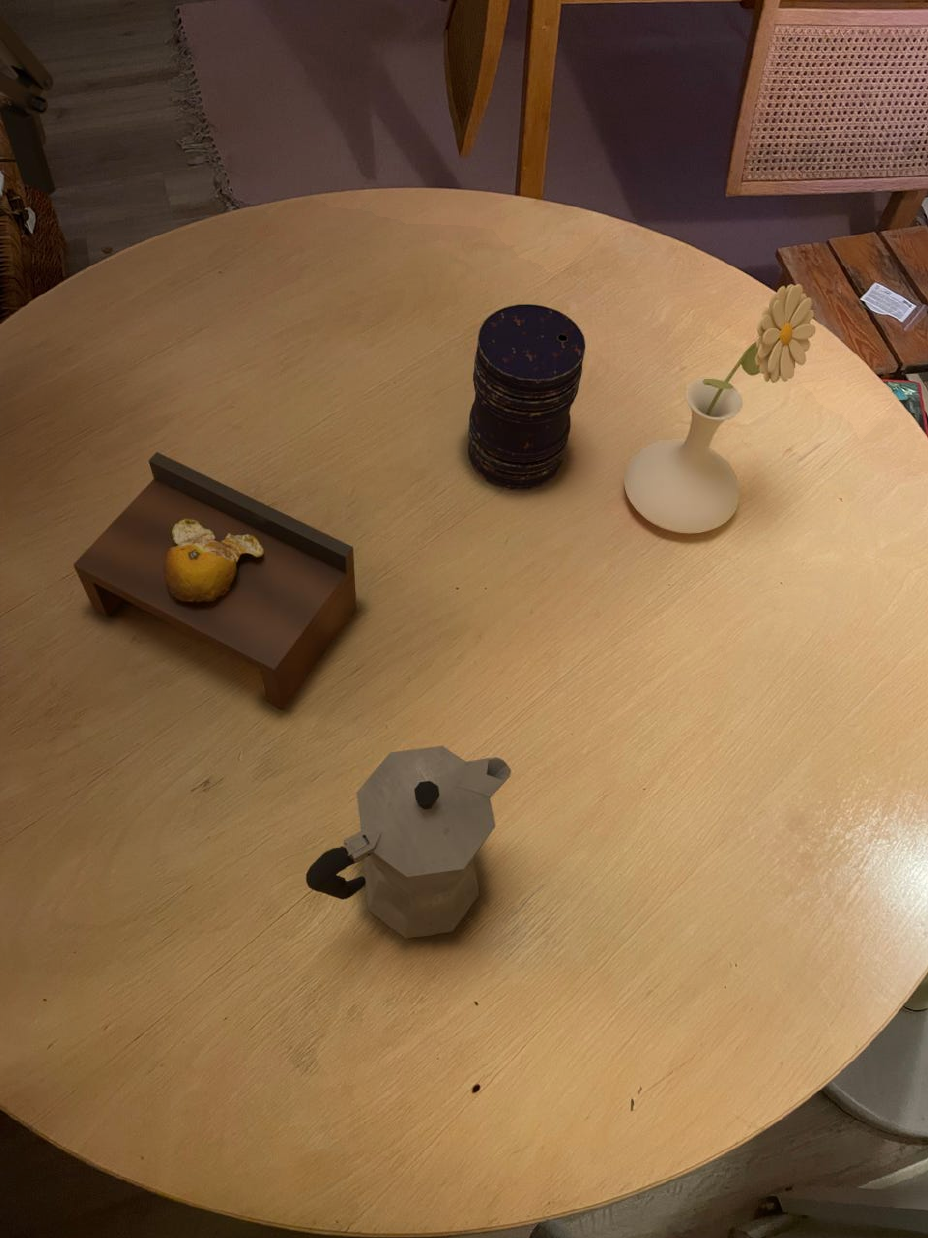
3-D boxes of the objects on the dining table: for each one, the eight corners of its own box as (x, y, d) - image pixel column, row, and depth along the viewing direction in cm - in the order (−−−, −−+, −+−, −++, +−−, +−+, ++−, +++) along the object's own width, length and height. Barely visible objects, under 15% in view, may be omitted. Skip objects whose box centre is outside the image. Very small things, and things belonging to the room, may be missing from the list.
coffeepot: (460, 792, 85) (475, 688, 70) (524, 889, 81) (554, 801, 66) (291, 887, 80) (267, 797, 65) (350, 996, 76) (339, 927, 61)
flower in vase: (656, 557, 99) (728, 363, 78) (600, 471, 104) (653, 268, 83) (770, 517, 102) (869, 321, 81) (710, 436, 108) (788, 232, 86)
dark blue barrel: (477, 496, 102) (489, 387, 89) (457, 422, 107) (465, 308, 94) (575, 484, 103) (600, 374, 90) (550, 411, 108) (571, 298, 96)
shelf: (282, 710, 88) (271, 654, 80) (93, 609, 92) (65, 547, 84) (356, 608, 94) (353, 546, 86) (175, 517, 98) (156, 451, 90)
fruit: (271, 540, 89) (266, 514, 86) (236, 619, 84) (230, 594, 81) (179, 518, 89) (171, 491, 86) (140, 596, 85) (130, 570, 82)
